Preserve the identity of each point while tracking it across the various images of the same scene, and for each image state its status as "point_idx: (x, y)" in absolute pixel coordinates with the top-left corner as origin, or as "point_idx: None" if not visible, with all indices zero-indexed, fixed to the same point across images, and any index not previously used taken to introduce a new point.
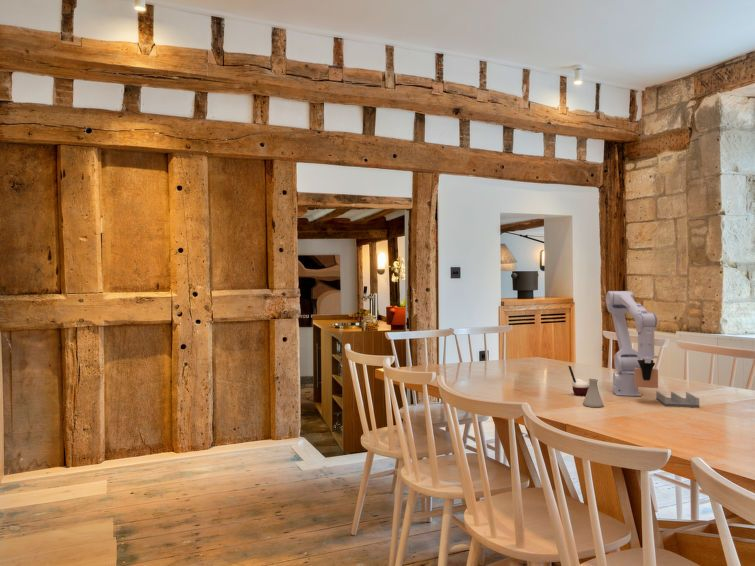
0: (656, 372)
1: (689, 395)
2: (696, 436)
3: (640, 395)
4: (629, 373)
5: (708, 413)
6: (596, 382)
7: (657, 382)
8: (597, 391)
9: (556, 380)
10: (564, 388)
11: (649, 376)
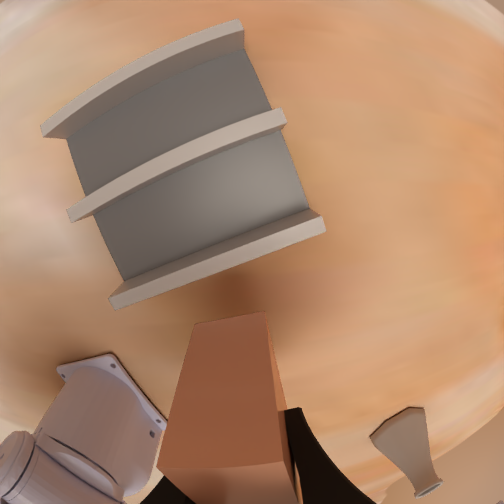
0: (282, 439)
1: (101, 99)
2: None
3: (113, 358)
4: (107, 476)
5: (365, 22)
6: (434, 477)
7: (268, 345)
8: (426, 452)
9: None
10: None
11: (312, 436)
